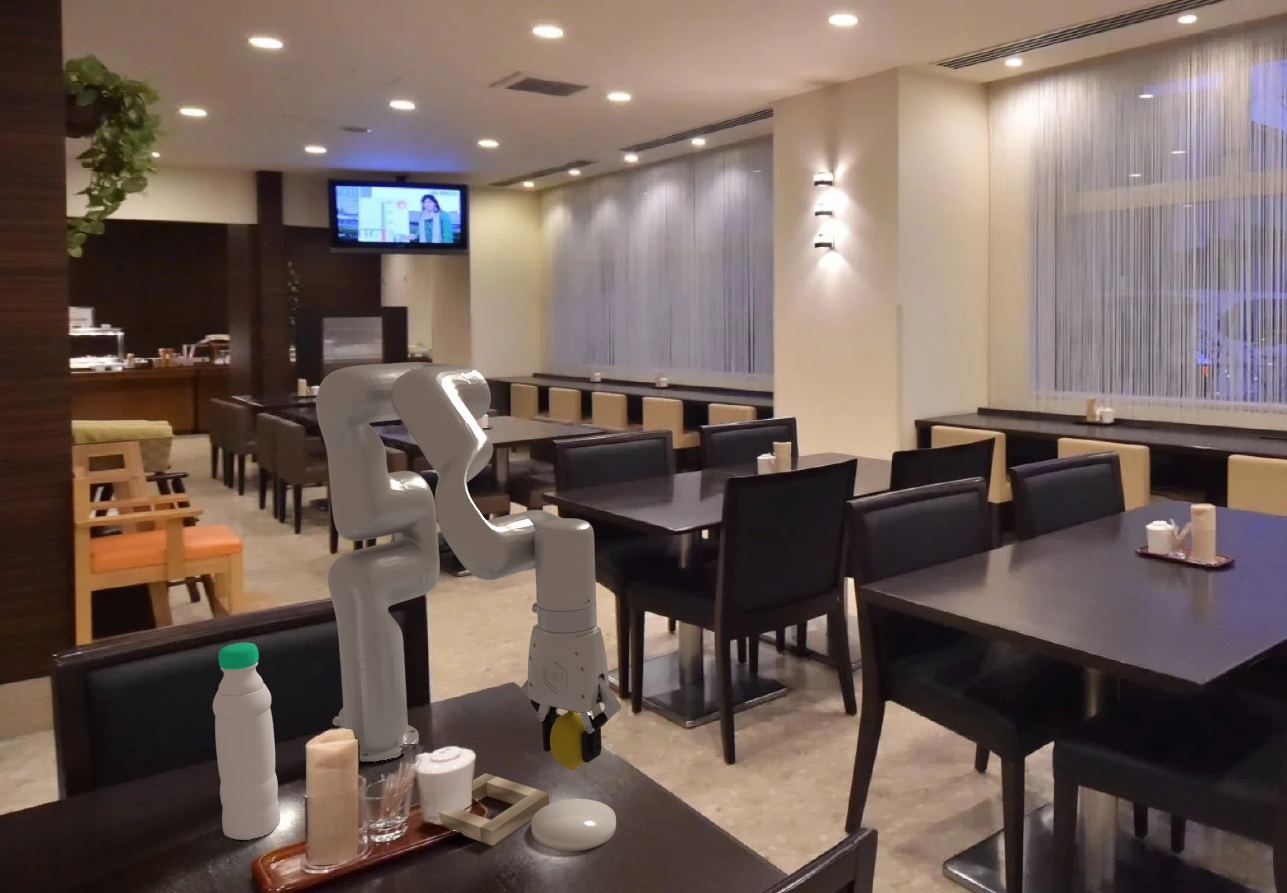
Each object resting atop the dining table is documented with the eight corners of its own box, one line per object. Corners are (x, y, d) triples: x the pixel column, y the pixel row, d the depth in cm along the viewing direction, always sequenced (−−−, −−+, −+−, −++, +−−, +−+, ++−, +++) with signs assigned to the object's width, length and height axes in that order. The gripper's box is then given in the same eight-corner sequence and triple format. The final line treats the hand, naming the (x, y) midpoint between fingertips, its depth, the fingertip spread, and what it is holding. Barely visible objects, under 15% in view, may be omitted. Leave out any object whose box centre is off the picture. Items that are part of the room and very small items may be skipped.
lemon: (588, 781, 123) (585, 720, 122) (545, 778, 124) (543, 718, 123) (598, 761, 128) (596, 703, 127) (558, 759, 129) (555, 701, 128)
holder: (427, 822, 130) (426, 807, 129) (486, 786, 139) (485, 773, 139) (492, 846, 123) (492, 831, 123) (549, 807, 133) (548, 793, 133)
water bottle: (292, 822, 130) (279, 642, 127) (248, 848, 124) (233, 659, 121) (255, 811, 133) (241, 634, 130) (211, 835, 127) (195, 651, 124)
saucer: (514, 836, 126) (513, 827, 125) (566, 799, 135) (565, 791, 135) (582, 860, 120) (582, 851, 120) (632, 820, 129) (632, 812, 129)
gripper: (496, 615, 125) (502, 749, 127) (605, 636, 116) (610, 780, 118) (533, 600, 131) (538, 728, 134) (640, 619, 122) (643, 756, 124)
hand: (572, 751), depth 126 cm, fingers closed on lemon, 5 cm apart
